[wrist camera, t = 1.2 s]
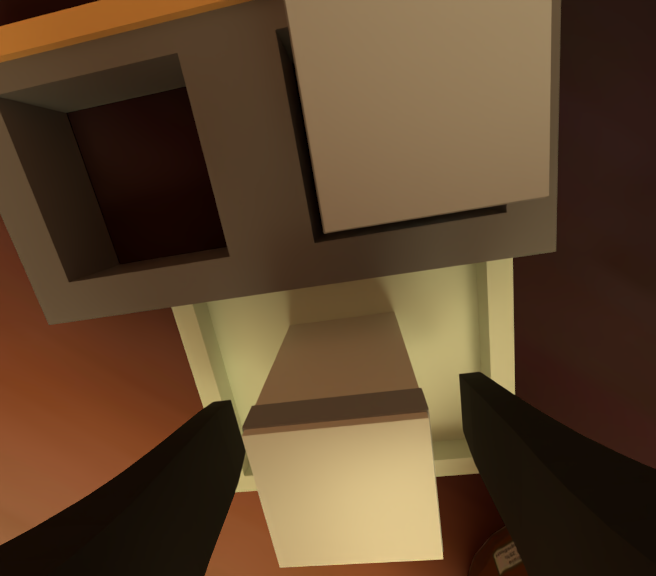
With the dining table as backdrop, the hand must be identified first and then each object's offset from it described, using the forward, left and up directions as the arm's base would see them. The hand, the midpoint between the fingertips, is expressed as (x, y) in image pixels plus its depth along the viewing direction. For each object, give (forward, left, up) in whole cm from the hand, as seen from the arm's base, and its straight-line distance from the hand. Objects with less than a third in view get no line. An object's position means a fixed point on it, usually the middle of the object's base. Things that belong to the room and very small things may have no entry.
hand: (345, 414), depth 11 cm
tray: (0, 0, -3) cm, 3 cm away
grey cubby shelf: (+1, -8, -3) cm, 9 cm away
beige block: (-3, -8, -3) cm, 9 cm away
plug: (0, 0, -3) cm, 3 cm away
